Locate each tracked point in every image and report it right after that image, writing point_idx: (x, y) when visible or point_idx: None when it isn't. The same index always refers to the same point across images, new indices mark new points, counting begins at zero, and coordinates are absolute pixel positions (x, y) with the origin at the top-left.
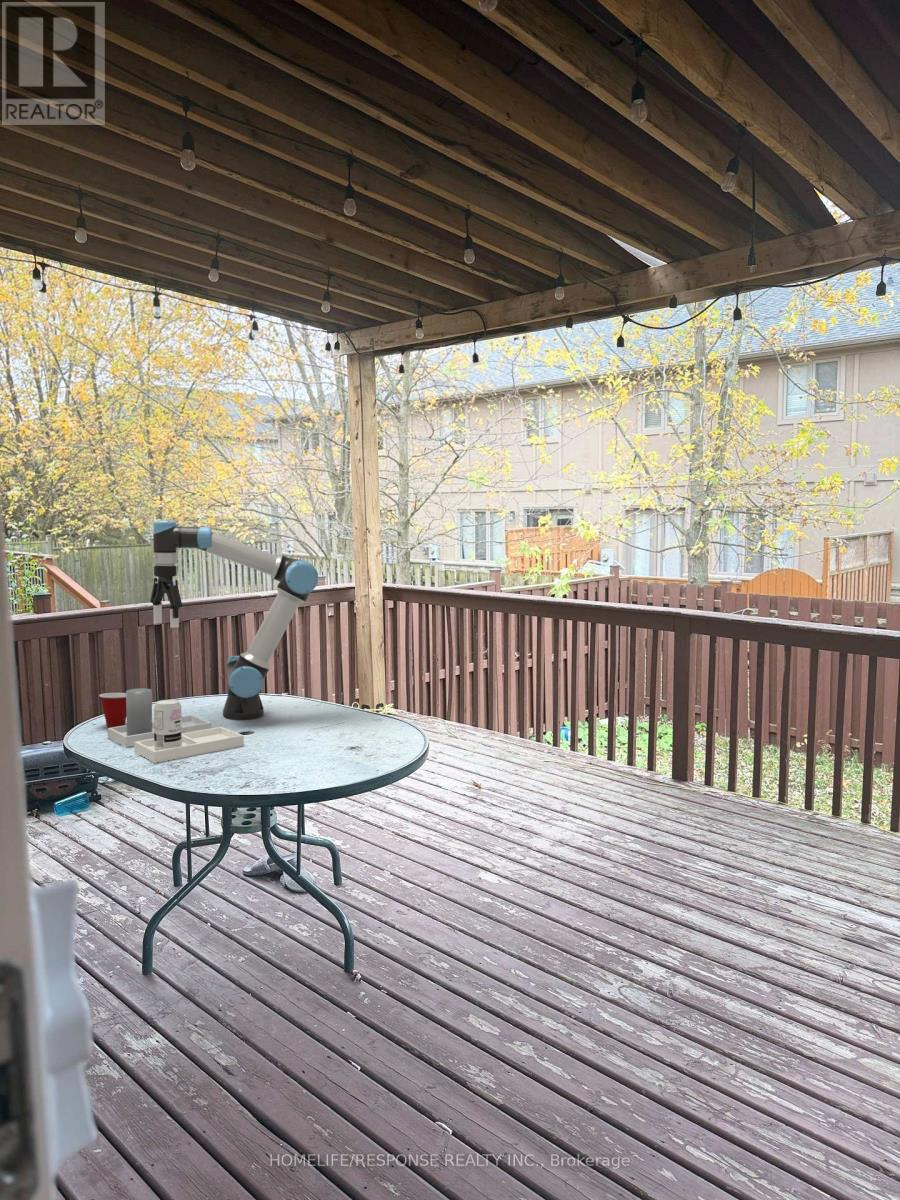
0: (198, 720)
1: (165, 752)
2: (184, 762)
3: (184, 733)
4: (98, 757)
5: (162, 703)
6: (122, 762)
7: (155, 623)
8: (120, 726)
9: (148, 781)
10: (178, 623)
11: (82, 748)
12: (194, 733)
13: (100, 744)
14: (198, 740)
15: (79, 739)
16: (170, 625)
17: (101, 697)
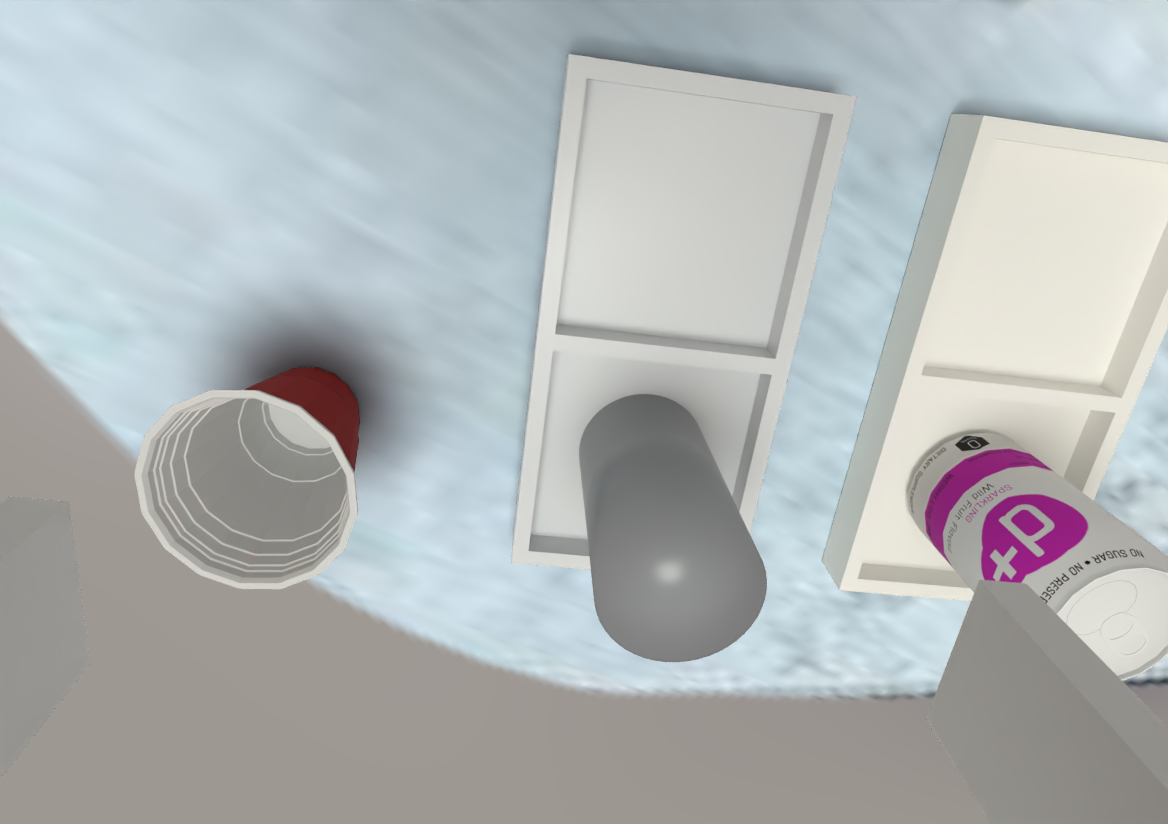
0: (701, 95)
1: None
2: (1117, 496)
3: (918, 359)
4: (763, 674)
5: (1108, 655)
6: (899, 646)
7: (83, 649)
8: (525, 508)
9: (1162, 682)
10: (1081, 651)
11: (591, 664)
12: (938, 304)
13: (588, 595)
14: (981, 311)
15: (438, 619)
16: (952, 756)
17: (254, 576)
